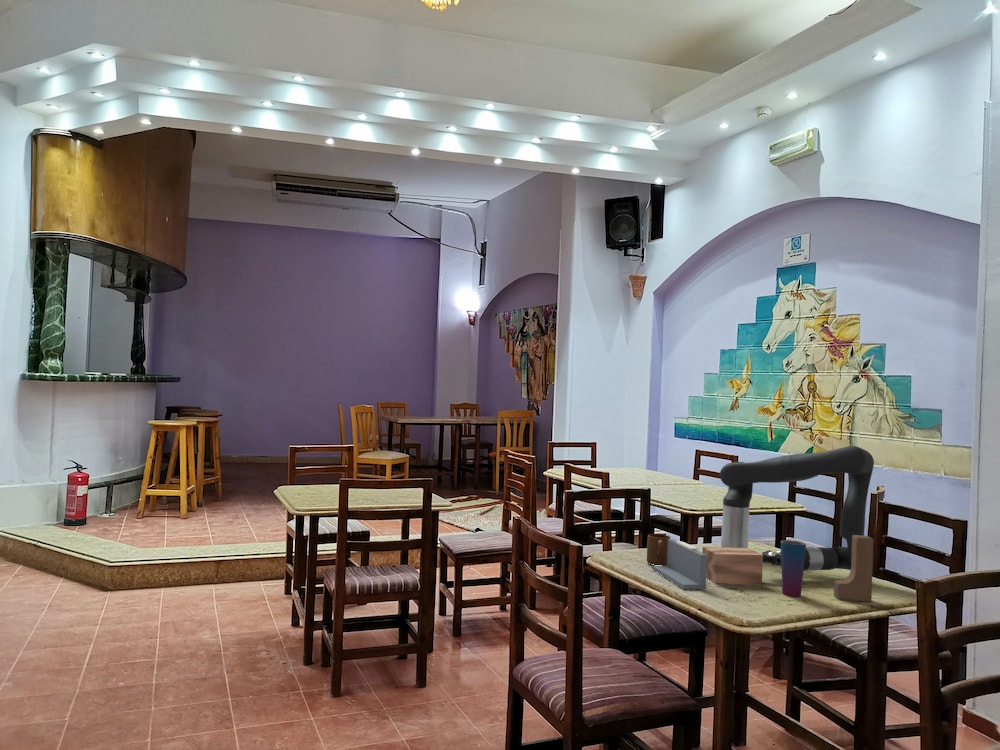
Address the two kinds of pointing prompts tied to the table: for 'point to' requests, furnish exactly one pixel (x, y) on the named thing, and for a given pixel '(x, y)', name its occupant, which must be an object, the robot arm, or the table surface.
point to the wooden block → (858, 572)
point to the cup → (792, 567)
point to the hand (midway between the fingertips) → (754, 558)
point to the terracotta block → (733, 565)
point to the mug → (657, 549)
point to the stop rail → (684, 565)
